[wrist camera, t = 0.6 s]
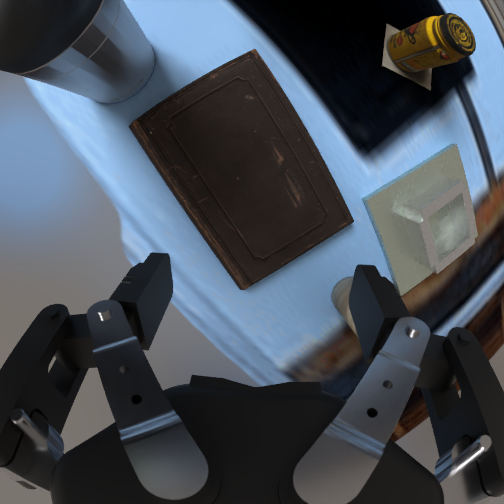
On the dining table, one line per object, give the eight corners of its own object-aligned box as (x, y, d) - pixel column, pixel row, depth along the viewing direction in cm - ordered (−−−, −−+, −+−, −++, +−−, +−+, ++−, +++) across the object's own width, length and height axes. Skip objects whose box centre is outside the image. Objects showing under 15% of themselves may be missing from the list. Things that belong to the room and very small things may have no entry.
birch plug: (325, 289, 38) (356, 330, 29) (357, 269, 38) (395, 305, 29) (339, 315, 40) (368, 357, 31) (368, 296, 40) (403, 334, 30)
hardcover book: (252, 54, 28) (255, 48, 26) (346, 217, 36) (354, 221, 34) (132, 127, 29) (126, 126, 27) (238, 284, 37) (240, 292, 35)
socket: (362, 198, 35) (383, 206, 30) (451, 143, 34) (475, 146, 29) (396, 292, 40) (415, 309, 35) (473, 233, 39) (493, 243, 34)
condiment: (385, 23, 27) (439, -5, 16) (432, 50, 29) (489, 35, 17) (381, 65, 29) (439, 44, 18) (429, 90, 31) (490, 83, 20)
